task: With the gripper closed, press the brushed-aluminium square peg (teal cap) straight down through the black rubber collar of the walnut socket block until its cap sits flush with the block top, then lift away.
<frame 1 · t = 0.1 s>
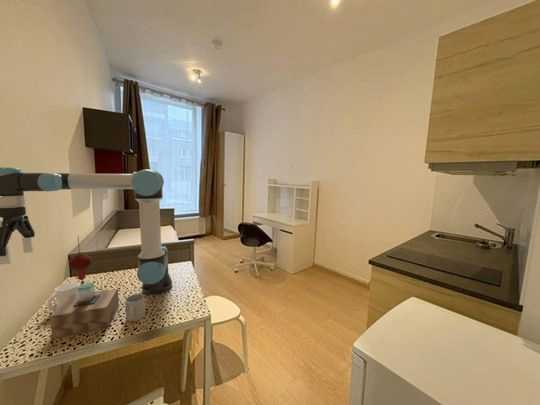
hand: (17, 257, 92), 28 cm above the table, fingers open, 13 cm apart
cup: (135, 319, 98), on the table
socket block: (89, 320, 96), on the table
lantern: (82, 289, 123), on the table
mug: (64, 309, 104), on the table
peg: (86, 295, 95), point 11 cm above the table, slide at 0.0 cm
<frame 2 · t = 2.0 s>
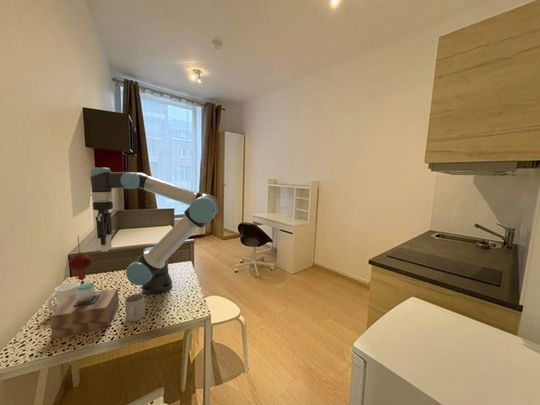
hand: (106, 249, 107), 27 cm above the table, fingers open, 4 cm apart
nothing on the table moved.
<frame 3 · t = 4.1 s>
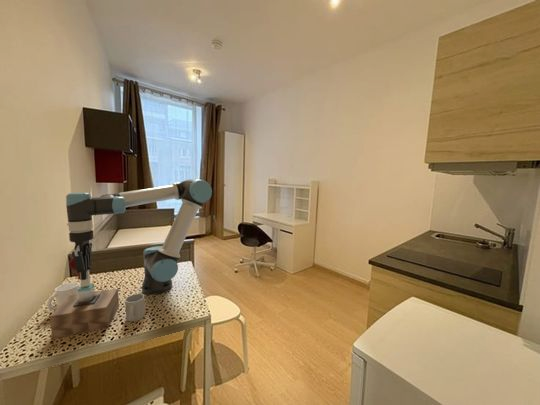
hand: (85, 285, 94), 16 cm above the table, fingers closed
peg: (87, 296, 95), point 11 cm above the table, slide at 0.5 cm, touching gripper
everything else where it was.
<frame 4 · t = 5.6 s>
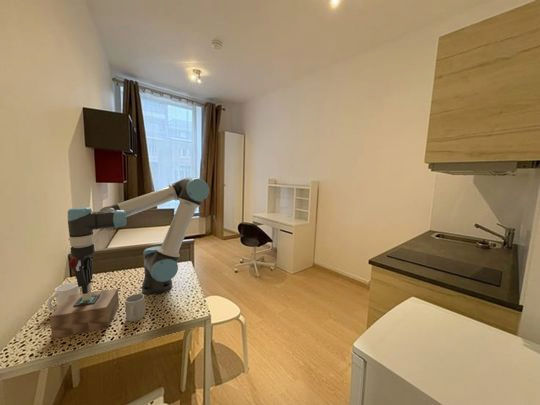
hand: (87, 299, 95), 10 cm above the table, fingers closed
peg: (88, 309, 95), point 5 cm above the table, slide at 6.5 cm, touching gripper
everything else where it was.
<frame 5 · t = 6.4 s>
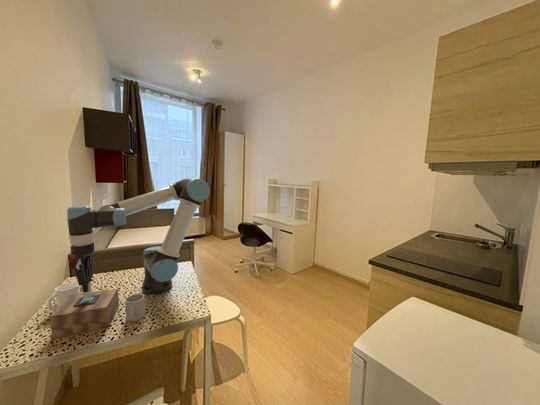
hand: (87, 297, 95), 10 cm above the table, fingers closed
peg: (88, 309, 95), point 5 cm above the table, slide at 6.5 cm
everything else where it was.
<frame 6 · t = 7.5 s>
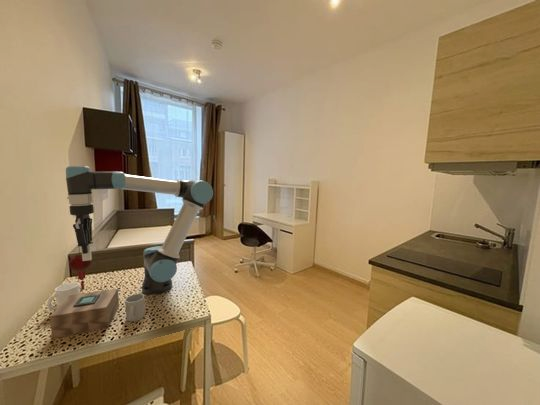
hand: (87, 260, 94), 26 cm above the table, fingers closed
nothing on the table moved.
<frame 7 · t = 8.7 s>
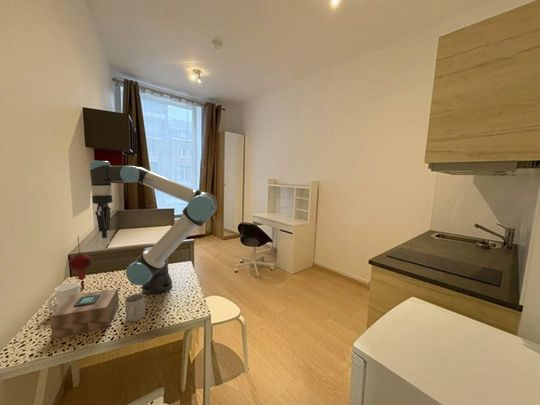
hand: (106, 243, 107), 29 cm above the table, fingers closed
nothing on the table moved.
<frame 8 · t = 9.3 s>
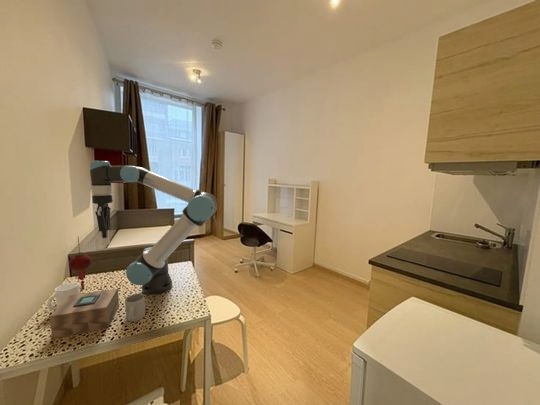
hand: (106, 243, 107), 29 cm above the table, fingers closed
nothing on the table moved.
at the end: peg slide at 6.5 cm; peg touching nothing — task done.
